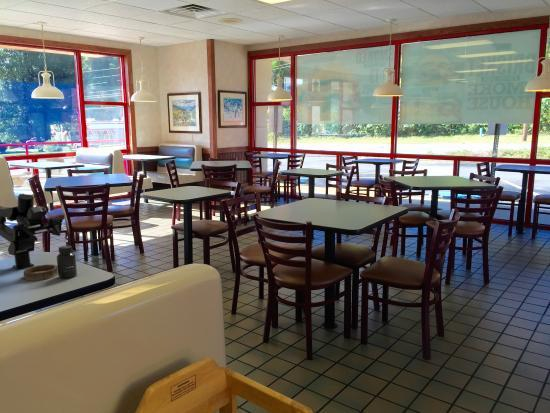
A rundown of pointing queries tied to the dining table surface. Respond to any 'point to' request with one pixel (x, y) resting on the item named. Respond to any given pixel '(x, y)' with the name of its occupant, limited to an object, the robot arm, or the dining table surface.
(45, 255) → the dining table surface
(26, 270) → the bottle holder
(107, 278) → the dining table surface
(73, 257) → the supplement bottle
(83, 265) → the dining table surface
